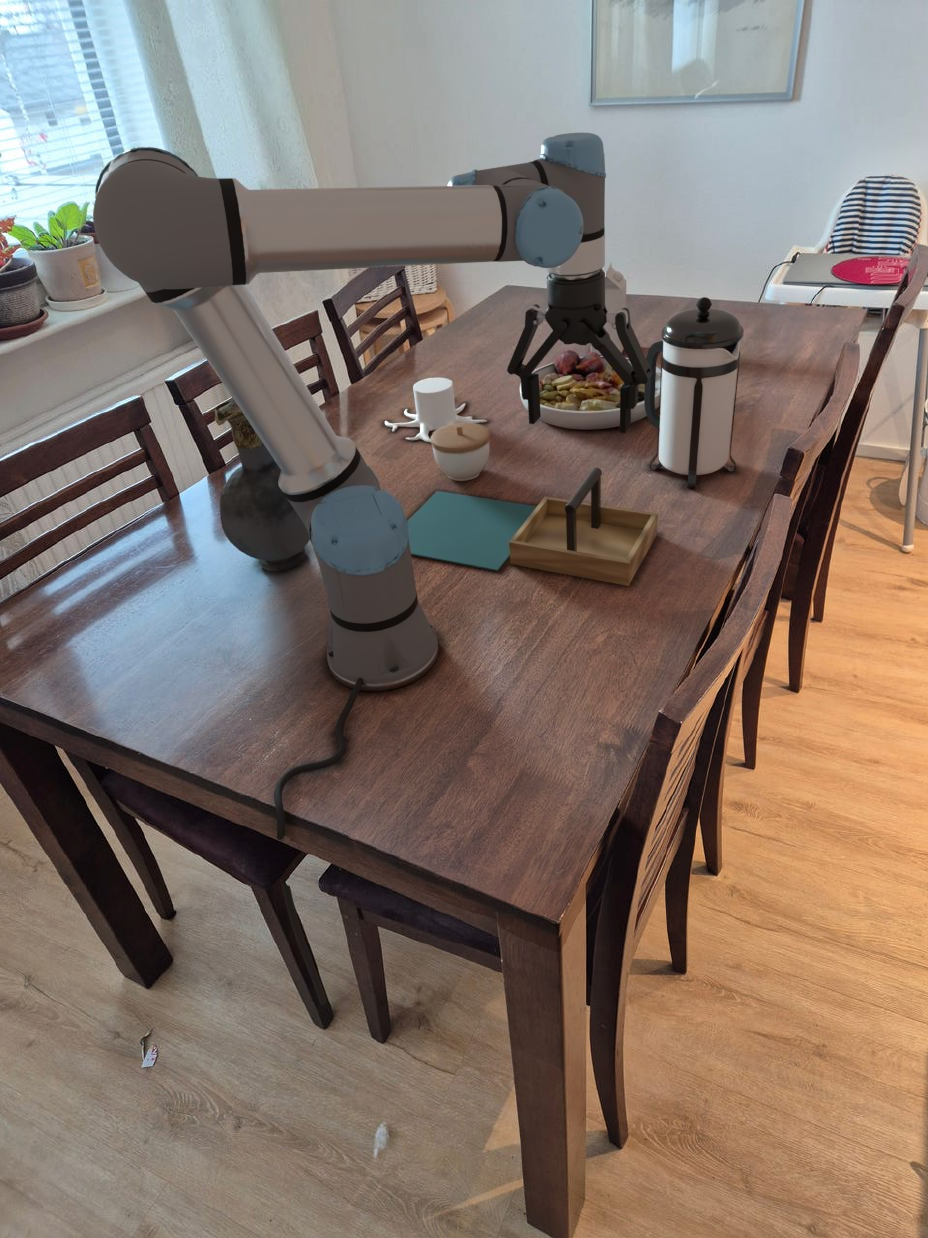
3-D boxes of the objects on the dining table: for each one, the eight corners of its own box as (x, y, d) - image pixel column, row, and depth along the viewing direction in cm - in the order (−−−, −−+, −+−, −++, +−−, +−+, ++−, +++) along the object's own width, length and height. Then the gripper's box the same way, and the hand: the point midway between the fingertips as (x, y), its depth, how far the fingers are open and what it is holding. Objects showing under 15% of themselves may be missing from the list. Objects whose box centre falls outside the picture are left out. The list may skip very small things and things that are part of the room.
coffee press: (738, 450, 157) (756, 280, 139) (732, 492, 145) (751, 313, 128) (643, 445, 162) (648, 281, 145) (629, 485, 151) (634, 312, 133)
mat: (497, 571, 133) (497, 569, 133) (381, 549, 141) (381, 547, 141) (545, 509, 147) (545, 507, 147) (437, 492, 155) (436, 490, 155)
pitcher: (227, 579, 138) (173, 402, 120) (292, 520, 152) (251, 353, 134) (284, 590, 134) (236, 408, 116) (345, 529, 148) (310, 357, 130)
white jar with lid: (487, 487, 155) (483, 439, 149) (429, 486, 157) (423, 439, 152) (497, 460, 163) (493, 413, 158) (442, 459, 165) (436, 413, 160)
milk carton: (590, 355, 202) (590, 271, 191) (595, 344, 207) (595, 262, 196) (620, 355, 200) (622, 271, 189) (625, 345, 205) (627, 261, 194)
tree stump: (468, 396, 189) (465, 360, 184) (494, 430, 174) (491, 392, 169) (379, 414, 186) (374, 377, 181) (397, 450, 171) (391, 411, 166)
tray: (628, 586, 127) (630, 519, 120) (510, 564, 134) (505, 500, 127) (657, 534, 137) (660, 471, 130) (545, 517, 145) (543, 455, 138)
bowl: (696, 413, 171) (698, 375, 167) (561, 449, 164) (560, 410, 159) (619, 367, 194) (620, 332, 190) (498, 397, 187) (495, 362, 182)
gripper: (679, 264, 108) (672, 421, 121) (498, 260, 118) (509, 406, 131) (664, 282, 103) (658, 444, 116) (475, 277, 113) (489, 427, 126)
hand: (579, 424), depth 123 cm, fingers open, 13 cm apart
